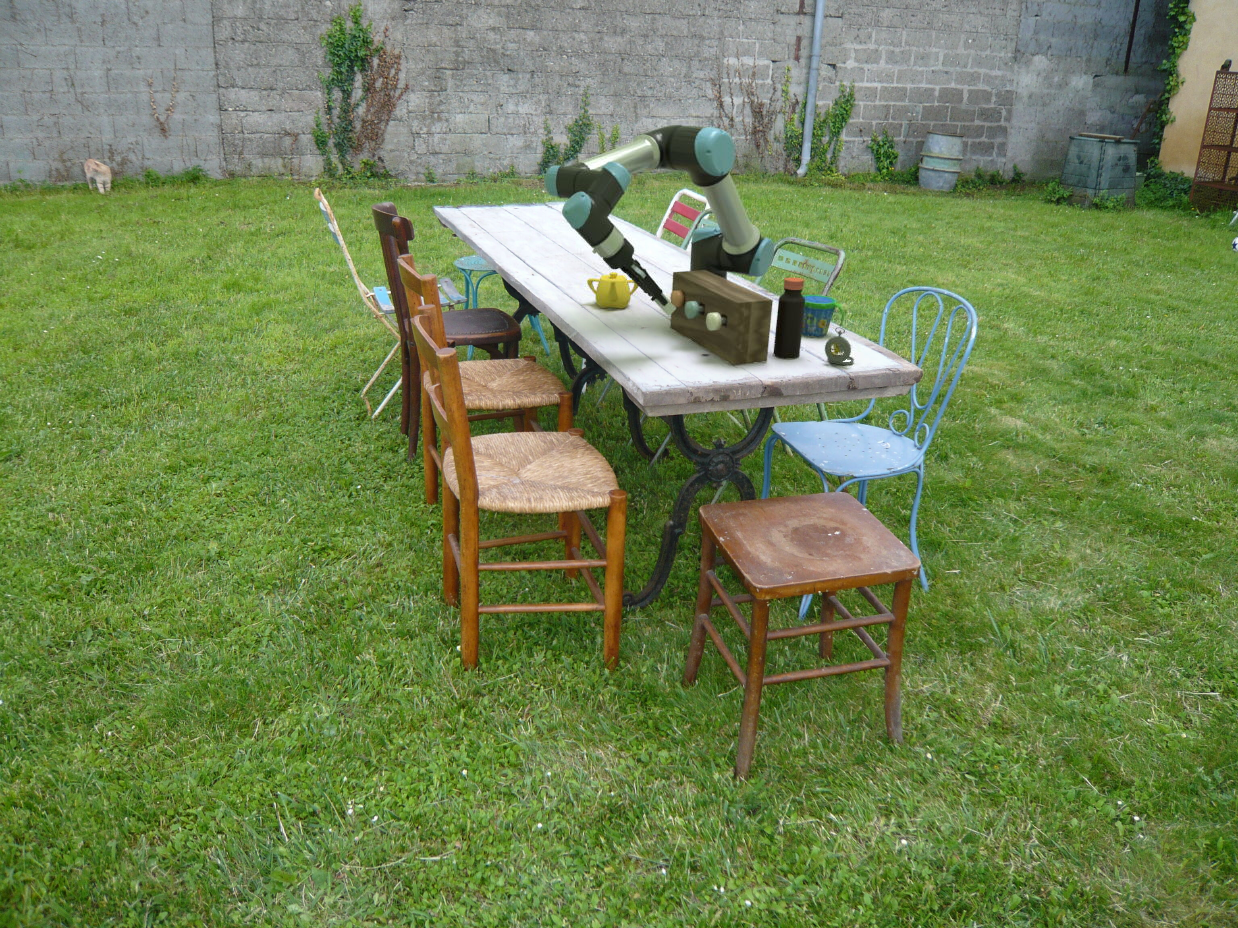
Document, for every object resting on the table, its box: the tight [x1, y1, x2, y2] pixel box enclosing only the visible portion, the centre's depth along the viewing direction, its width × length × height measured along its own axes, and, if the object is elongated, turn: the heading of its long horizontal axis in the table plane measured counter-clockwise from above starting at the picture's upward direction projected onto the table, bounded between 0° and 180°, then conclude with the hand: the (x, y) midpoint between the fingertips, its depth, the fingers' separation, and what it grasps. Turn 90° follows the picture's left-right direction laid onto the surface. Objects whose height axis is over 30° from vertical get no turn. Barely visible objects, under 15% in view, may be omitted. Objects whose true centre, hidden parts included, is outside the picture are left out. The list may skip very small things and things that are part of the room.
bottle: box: [773, 276, 805, 359], centre depth 237 cm, size 7×7×20 cm
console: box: [669, 270, 774, 366], centre depth 245 cm, size 10×36×16 cm, turn 23°
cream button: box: [706, 312, 727, 331], centre depth 232 cm, size 6×4×4 cm
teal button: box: [685, 301, 705, 319], centre depth 242 cm, size 6×4×4 cm
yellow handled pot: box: [586, 271, 639, 310], centre depth 281 cm, size 14×13×10 cm
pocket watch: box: [824, 326, 855, 365], centre depth 234 cm, size 8×8×10 cm
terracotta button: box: [669, 290, 684, 307], centre depth 253 cm, size 6×4×4 cm
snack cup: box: [802, 294, 845, 338], centre depth 258 cm, size 16×10×10 cm
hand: (671, 311), depth 235 cm, fingers closed
